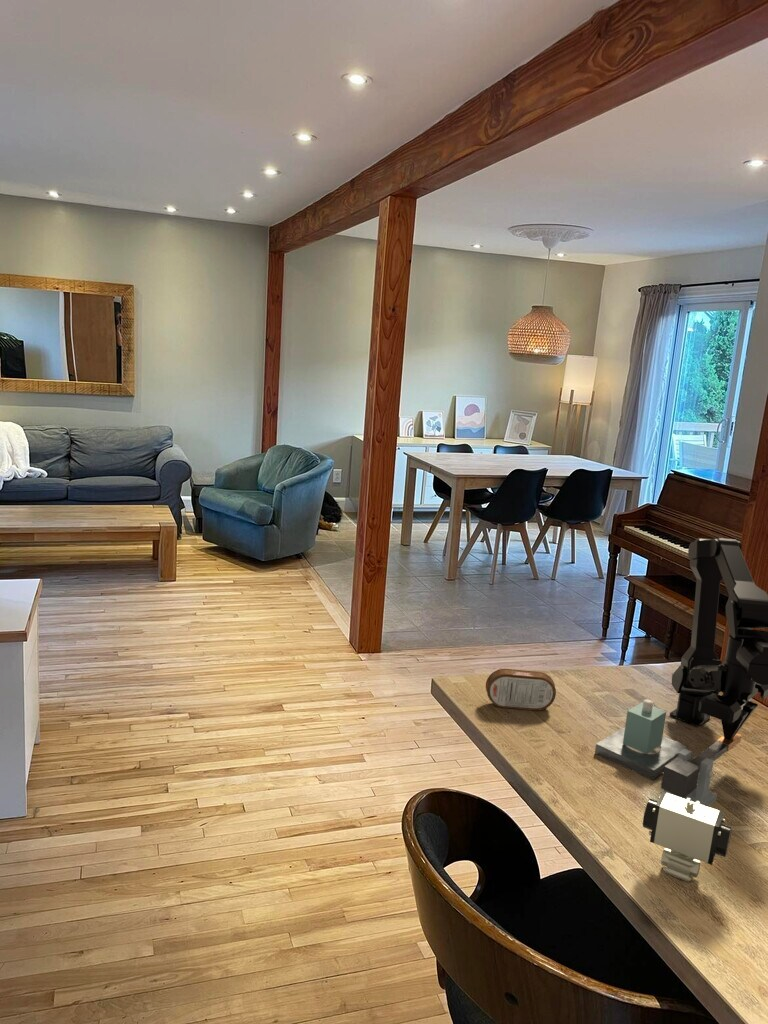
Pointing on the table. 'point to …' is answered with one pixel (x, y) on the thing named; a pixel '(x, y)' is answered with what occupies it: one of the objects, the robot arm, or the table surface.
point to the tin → (520, 689)
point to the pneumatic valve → (686, 833)
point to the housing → (644, 727)
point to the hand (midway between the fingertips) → (728, 738)
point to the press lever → (693, 767)
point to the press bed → (639, 754)
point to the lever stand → (700, 781)
